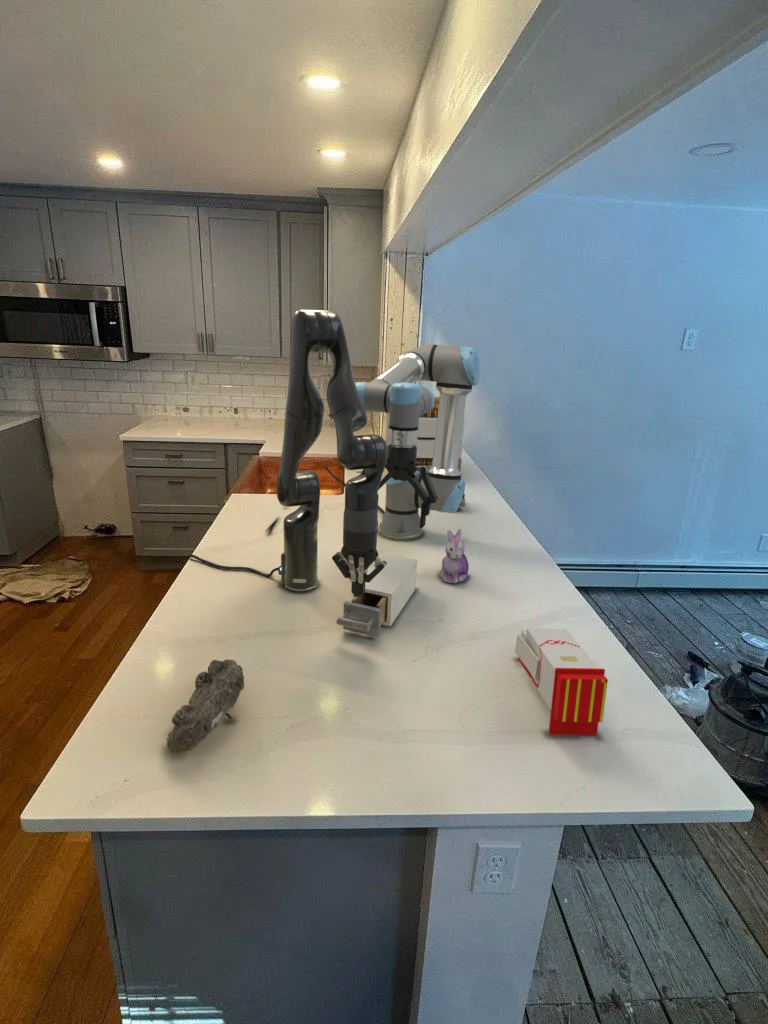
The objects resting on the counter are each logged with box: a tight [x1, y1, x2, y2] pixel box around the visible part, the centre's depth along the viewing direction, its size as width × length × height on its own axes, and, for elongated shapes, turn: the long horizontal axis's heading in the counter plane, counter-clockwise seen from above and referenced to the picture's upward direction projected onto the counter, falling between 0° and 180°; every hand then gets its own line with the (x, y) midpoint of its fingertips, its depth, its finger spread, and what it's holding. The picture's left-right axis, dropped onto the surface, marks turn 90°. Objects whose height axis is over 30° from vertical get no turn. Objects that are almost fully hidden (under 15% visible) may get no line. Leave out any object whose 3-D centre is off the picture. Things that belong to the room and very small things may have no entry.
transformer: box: [384, 396, 465, 474], centre depth 268 cm, size 34×33×41 cm
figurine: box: [440, 528, 470, 584], centre depth 167 cm, size 9×10×15 cm
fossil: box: [166, 658, 245, 754], centre depth 106 cm, size 22×10×15 cm
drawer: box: [336, 592, 388, 638], centre depth 142 cm, size 26×9×7 cm, turn 160°
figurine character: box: [457, 493, 466, 511], centre depth 229 cm, size 7×8×15 cm
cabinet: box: [352, 553, 418, 627], centre depth 151 cm, size 22×10×9 cm, turn 160°
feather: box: [266, 507, 287, 535], centre depth 206 cm, size 2×28×2 cm
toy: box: [514, 627, 609, 736], centre depth 119 cm, size 12×13×30 cm
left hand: (358, 595), depth 130 cm, fingers closed
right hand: (398, 522), depth 152 cm, fingers open, 13 cm apart
